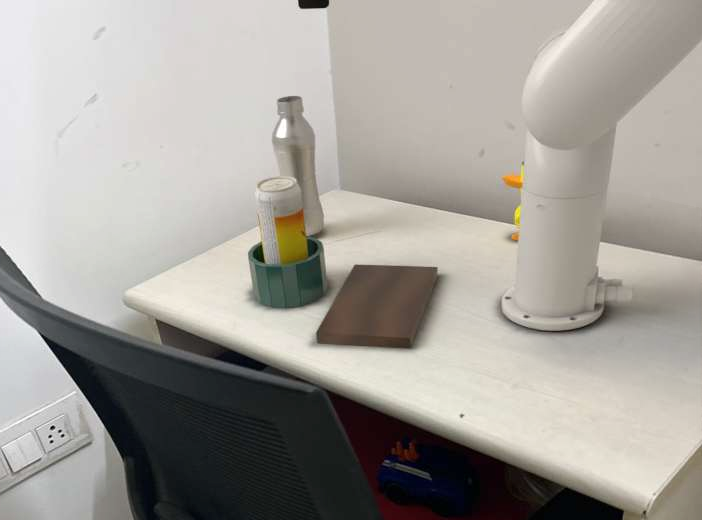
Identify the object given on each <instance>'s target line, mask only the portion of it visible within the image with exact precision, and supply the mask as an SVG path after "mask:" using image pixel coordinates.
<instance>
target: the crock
mask: <svg viewBox="0 0 702 520" xmlns="http://www.w3.org/2000/svg"><path fill="white" fill-rule="evenodd" d="M306 240H307V248H308V257H309V258H307V259H305V260H301V261H298V262H295V263H289V264H282V265H280V264H266V263H265V260H264V253H263V246H262V240H261V241H260V242H258V243H256V244H254V245H253V246H252V247H250V249H249V250H248V251H247V260H248V265H249V271H250V277H251V283H252V289H253V295H254V299H255V300H256V301H257V302H258V303H260V305H263V306H266V307H270V308H276V309H277V308H278V309H288V308H295V307H301V306H302V307H303V306H305V305H308V304H311V303H314V302H317V300H319V299H320V298H322V297H323V296H324V295H325V294H326V292H327V291H328V288H329V287H328V277H327V269H326V268H327V267H326V258H325V249H324V243H323V242H322V241H321V240H319V239H317V237H314V236H306Z"/></svg>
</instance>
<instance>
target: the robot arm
mask: <svg viewBox="0 0 702 520" xmlns="http://www.w3.org/2000/svg"><path fill="white" fill-rule="evenodd" d="M297 4H298V8H299V9H300V10H315V9H316V10H317V9H318V10H319V9H327V8H328V7H329V6H330V0H297ZM701 42H702V0H593V1H592V2H591V4H589V6H588V7H586V9H585V10H584V11H583V12H582V13H581V14H580V16H578V18H577V19H576V20H573V21H569V22H567V23H564V24H562V25H560V26H559V27H558V28H555V30H553V31H552V32H551V33H550V34H549V35H548V36H547V37H546V38H545V39H544V41H543V42H542V43H541V45H540V46H539V48H538V49H537V51H536V53H535V54H534V57H533V59H532V62H531V64H530V67H529V70H528V73H527V77H526V78H525V82H524V85H523V89H522V96H521V111H522V112H521V113H522V116H523V121H524V124H525V126H526V134H525V135H526V136H525V148H524V157H523V161H524V171H523V183H522V196H521V195H520V204H521V210H520V224H519V229H518V232H519V238H518V240H517V254H516V268H515V284H514V285H513V286H511V287H510V288H509V289H507V290H506V291H505V292H504V294H503V295H502V297H501V304H500V305H501V306H500V307H501V311H502V313H503V315H504V316H505V317H506V319H509V320H510V321H512V322H513V323H515V324H517V325H520V326H522V327H525V328H528V329H531V330H532V329H533V330H538V331H548V332H549V331H550V332H556V331H559V332H560V331H569V330H575V329H579V328H582V327H586V326H588V325H590V324H592V323H594V322H595V321H597V320H598V319H600V317H601V316H602V314H603V312H604V308H605V302H615V303H629V304H630V303H632V299H633V293H634V286H630V285H623V279H622V278H619V279H618V278H611V279H607V278H603V276H599V266H598V259H599V253H600V244H601V239H602V238H601V237H602V231H603V225H604V216H605V209H606V203H607V195H608V187H609V183H610V176H611V170H612V169H611V168H612V164H613V163H612V161H613V154H614V149H615V140H616V132H617V125H618V123H619V122H620V121H621V120H622V119H623V118H624V117H626V115H628V114H629V112H630V111H632V109H633V108H635V107H636V106H637V105H638V104H639V103H640V102H641V101H642V100H643V99H644V98H645V97H646V96H647V95H648V94H649V93H650V92H651V91H652V90H653V89H654V88H656V87H657V86H658V85H659V84H660V83H661V82H662V81H663V80H664V79H665V78H666V77H667V76H668V75H669V74H670V73H671V72H672V71H673V70H674V69H676V67H677V66H678V65H679V64H680V63H682V62H683V60H685V59H686V58H687V56H689V54H691V53H692V51H693V50H694V49H696V47H697V46H698V45H699V44H700V43H701Z"/></svg>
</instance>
